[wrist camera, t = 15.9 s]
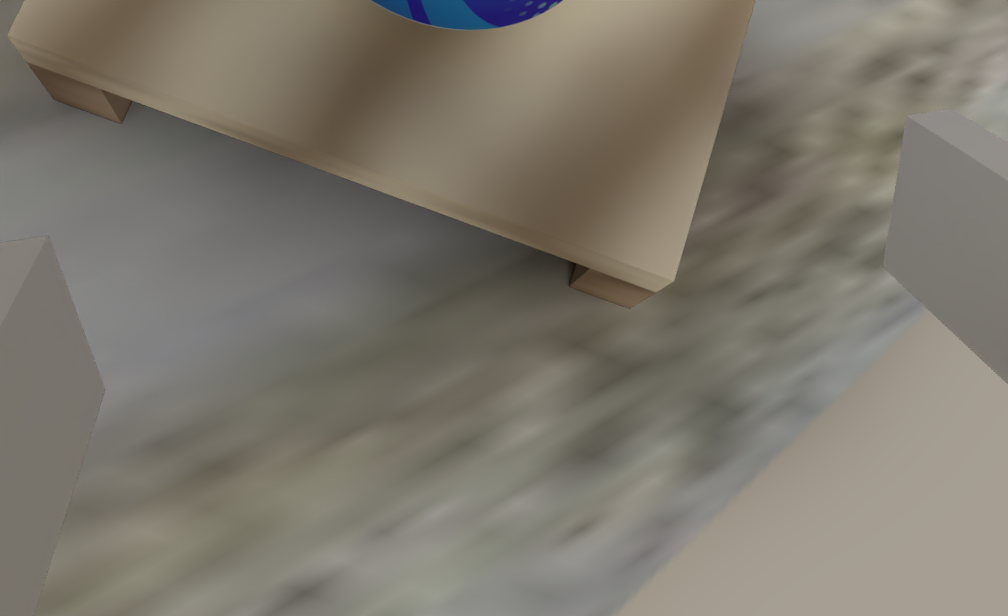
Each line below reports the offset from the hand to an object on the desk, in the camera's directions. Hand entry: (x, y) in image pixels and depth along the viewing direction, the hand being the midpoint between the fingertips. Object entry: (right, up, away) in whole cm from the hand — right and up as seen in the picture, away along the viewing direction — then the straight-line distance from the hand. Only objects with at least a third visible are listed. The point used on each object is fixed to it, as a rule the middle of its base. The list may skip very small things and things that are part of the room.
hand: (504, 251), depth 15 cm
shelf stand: (-2, +9, +15) cm, 18 cm away
